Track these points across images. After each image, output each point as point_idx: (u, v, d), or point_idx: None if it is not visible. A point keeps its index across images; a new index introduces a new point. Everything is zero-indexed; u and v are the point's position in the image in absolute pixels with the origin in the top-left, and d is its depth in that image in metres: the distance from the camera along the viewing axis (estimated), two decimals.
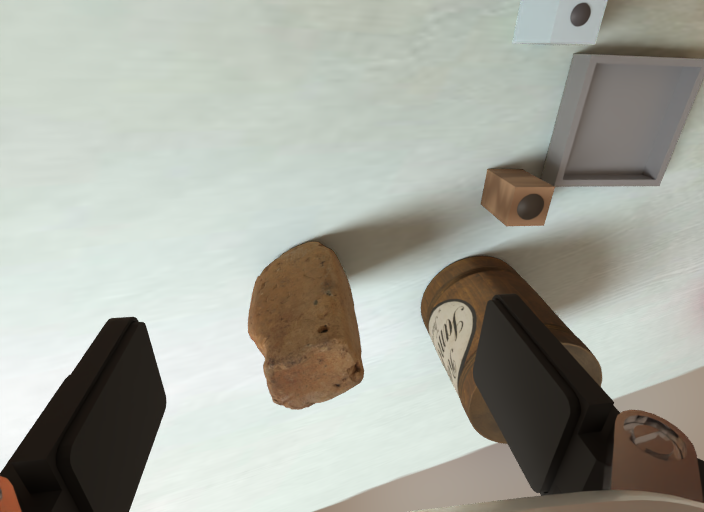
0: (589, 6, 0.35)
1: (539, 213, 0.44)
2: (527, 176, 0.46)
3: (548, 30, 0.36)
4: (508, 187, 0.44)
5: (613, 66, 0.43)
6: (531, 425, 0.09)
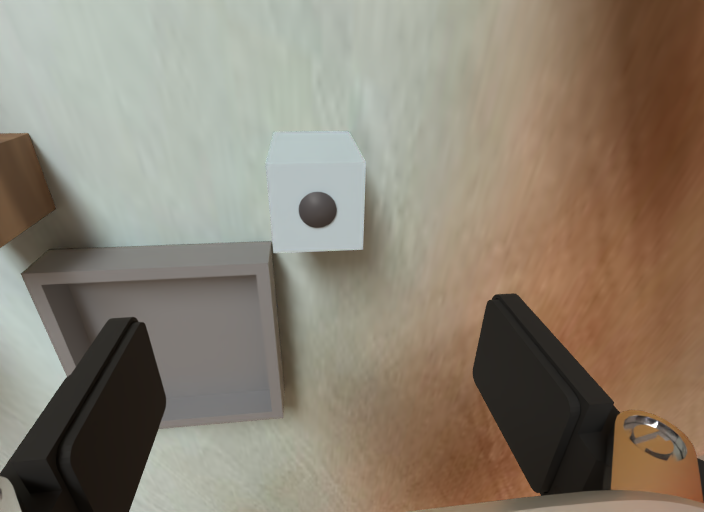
0: (332, 221, 0.19)
1: None
2: (18, 212, 0.21)
3: (287, 159, 0.18)
4: None
5: (260, 304, 0.28)
6: (532, 425, 0.09)
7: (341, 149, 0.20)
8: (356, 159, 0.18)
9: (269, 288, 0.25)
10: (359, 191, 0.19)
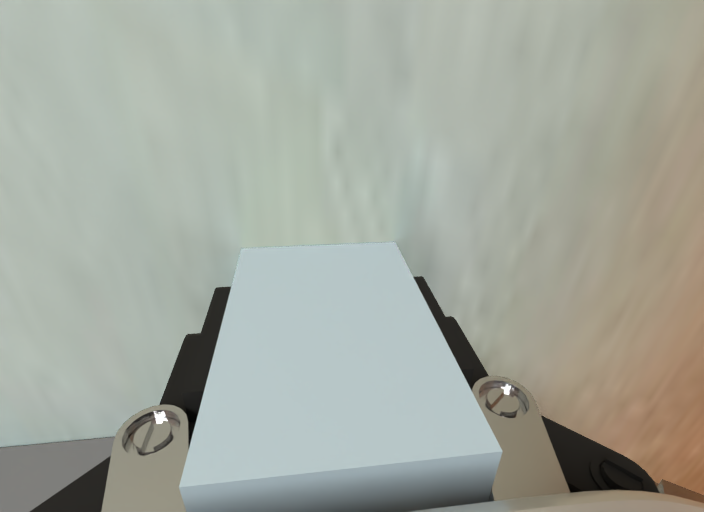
0: None
1: None
2: None
3: (255, 439, 0.06)
4: None
5: None
6: None
7: (403, 345, 0.08)
8: (466, 430, 0.06)
9: None
10: None
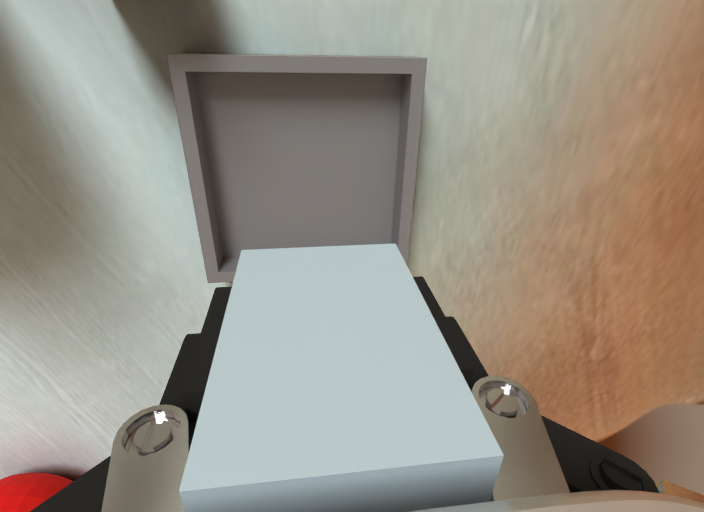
0: None
1: None
2: None
3: (256, 443, 0.06)
4: None
5: (394, 134, 0.26)
6: None
7: (403, 348, 0.08)
8: (467, 434, 0.06)
9: (422, 94, 0.23)
10: None
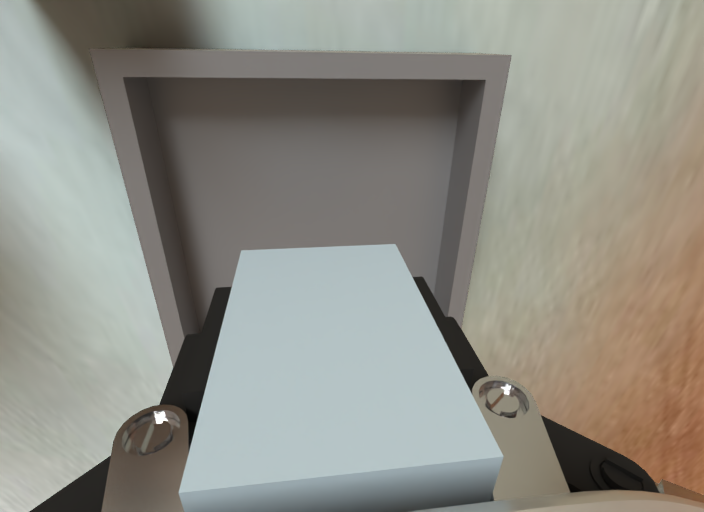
0: None
1: None
2: None
3: (255, 444, 0.06)
4: None
5: (445, 166, 0.18)
6: None
7: (403, 348, 0.08)
8: (467, 435, 0.06)
9: (499, 111, 0.15)
10: None
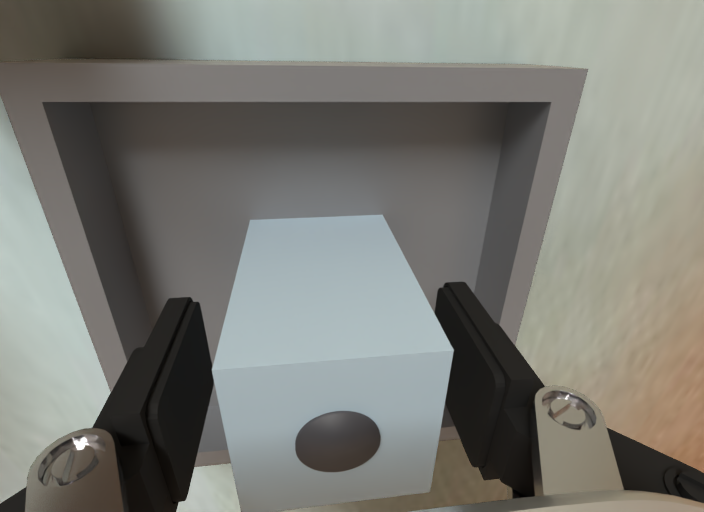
0: (369, 458, 0.09)
1: None
2: None
3: (267, 343, 0.08)
4: None
5: (482, 207, 0.14)
6: (470, 403, 0.09)
7: (383, 286, 0.10)
8: (428, 338, 0.08)
9: (566, 142, 0.11)
10: (432, 402, 0.08)
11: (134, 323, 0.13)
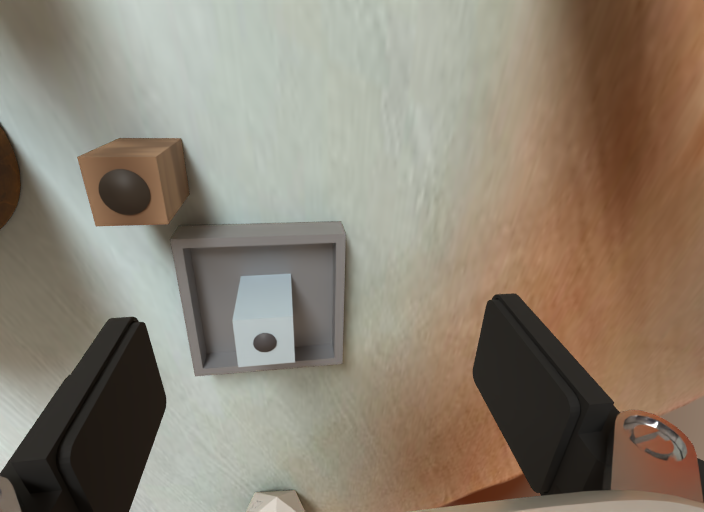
0: (274, 348, 0.31)
1: (116, 211, 0.26)
2: (179, 193, 0.30)
3: (245, 315, 0.30)
4: (153, 152, 0.26)
5: (329, 270, 0.37)
6: (532, 425, 0.09)
7: (281, 300, 0.32)
8: (287, 313, 0.31)
9: (344, 253, 0.34)
10: (290, 331, 0.31)
11: (197, 314, 0.36)
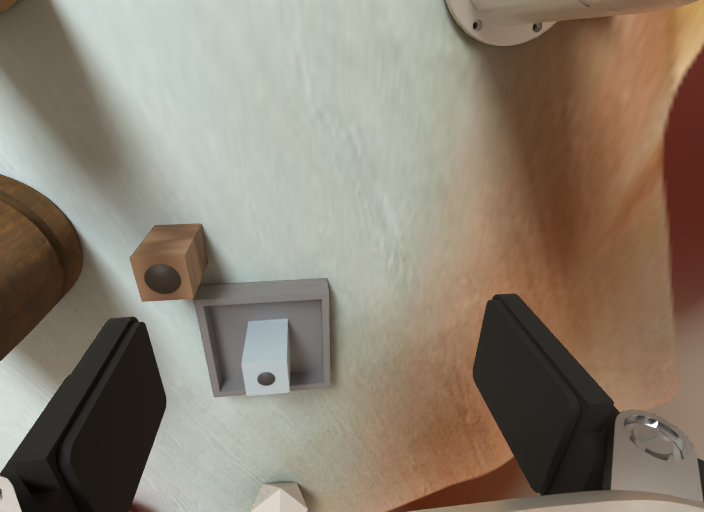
0: (273, 382, 0.41)
1: (156, 291, 0.36)
2: (200, 268, 0.39)
3: (251, 359, 0.40)
4: (181, 248, 0.35)
5: (318, 315, 0.47)
6: (531, 424, 0.09)
7: (278, 345, 0.42)
8: (283, 357, 0.40)
9: (328, 306, 0.44)
10: (285, 370, 0.41)
11: (214, 351, 0.46)
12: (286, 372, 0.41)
